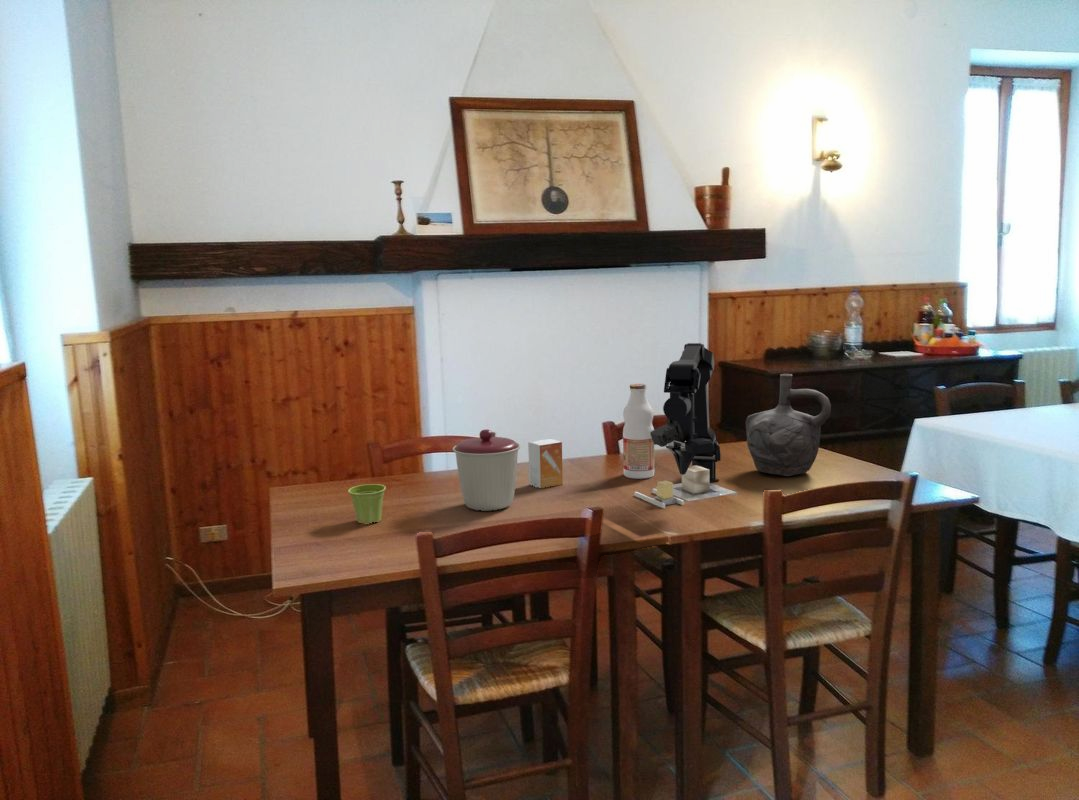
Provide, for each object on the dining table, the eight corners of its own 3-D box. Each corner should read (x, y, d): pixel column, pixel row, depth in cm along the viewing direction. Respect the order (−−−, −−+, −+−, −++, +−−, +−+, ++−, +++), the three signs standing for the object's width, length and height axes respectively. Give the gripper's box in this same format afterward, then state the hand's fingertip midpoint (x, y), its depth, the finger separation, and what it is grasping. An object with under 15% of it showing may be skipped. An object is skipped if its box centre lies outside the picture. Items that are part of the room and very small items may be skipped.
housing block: (696, 485, 232) (696, 465, 231) (709, 490, 226) (709, 469, 225) (681, 488, 230) (681, 467, 229) (694, 493, 224) (694, 471, 223)
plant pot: (380, 527, 207) (377, 493, 205) (344, 526, 208) (342, 493, 207) (392, 516, 216) (391, 484, 214) (358, 515, 217) (356, 483, 216)
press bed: (701, 483, 239) (701, 479, 239) (736, 496, 224) (737, 492, 224) (654, 491, 232) (654, 487, 232) (688, 505, 218) (688, 500, 218)
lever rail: (654, 496, 227) (654, 488, 227) (684, 508, 215) (684, 500, 214) (634, 499, 225) (634, 491, 224) (663, 512, 212) (663, 504, 212)
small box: (540, 489, 238) (539, 445, 236) (528, 484, 244) (527, 441, 241) (563, 484, 243) (562, 441, 241) (551, 480, 248) (550, 438, 246)
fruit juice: (637, 481, 244) (636, 387, 240) (617, 475, 252) (615, 384, 248) (661, 475, 250) (660, 384, 245) (640, 470, 257) (639, 381, 253)
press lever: (667, 499, 220) (667, 479, 219) (676, 503, 216) (676, 483, 215) (653, 502, 218) (653, 481, 217) (662, 505, 214) (662, 485, 213)
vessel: (828, 466, 255) (830, 370, 250) (829, 484, 234) (832, 379, 230) (747, 463, 262) (748, 369, 258) (742, 480, 242) (743, 378, 237)
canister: (517, 494, 233) (514, 421, 230) (527, 512, 215) (524, 433, 212) (453, 499, 230) (449, 425, 227) (458, 518, 212) (454, 438, 209)
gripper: (635, 411, 211) (635, 470, 213) (677, 422, 194) (677, 486, 197) (671, 407, 215) (671, 465, 218) (715, 417, 199) (715, 480, 201)
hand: (682, 474), depth 208 cm, fingers closed
